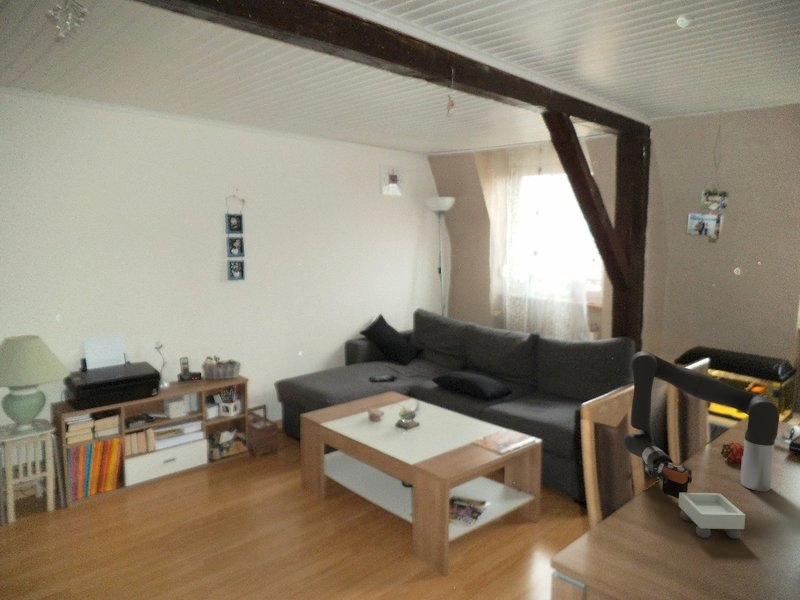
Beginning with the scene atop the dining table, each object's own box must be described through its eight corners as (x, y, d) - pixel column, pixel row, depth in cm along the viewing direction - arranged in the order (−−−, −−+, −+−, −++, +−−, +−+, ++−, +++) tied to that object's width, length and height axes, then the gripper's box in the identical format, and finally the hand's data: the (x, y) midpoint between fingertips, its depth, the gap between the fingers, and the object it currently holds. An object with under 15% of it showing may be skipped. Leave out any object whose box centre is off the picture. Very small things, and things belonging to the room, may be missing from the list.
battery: (681, 500, 184) (683, 471, 182) (661, 492, 189) (662, 464, 188) (687, 496, 186) (689, 468, 185) (667, 489, 192) (669, 461, 190)
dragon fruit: (723, 467, 224) (736, 465, 231) (743, 461, 218) (756, 458, 225) (713, 447, 227) (726, 445, 234) (732, 440, 222) (746, 438, 229)
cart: (677, 516, 181) (679, 492, 180) (717, 517, 181) (719, 493, 180) (699, 540, 167) (701, 514, 166) (743, 541, 167) (745, 515, 166)
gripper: (637, 450, 201) (657, 469, 184) (677, 450, 200) (700, 469, 184) (636, 470, 202) (656, 491, 185) (676, 470, 201) (699, 491, 185)
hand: (678, 480), depth 185 cm, fingers closed on battery, 7 cm apart
